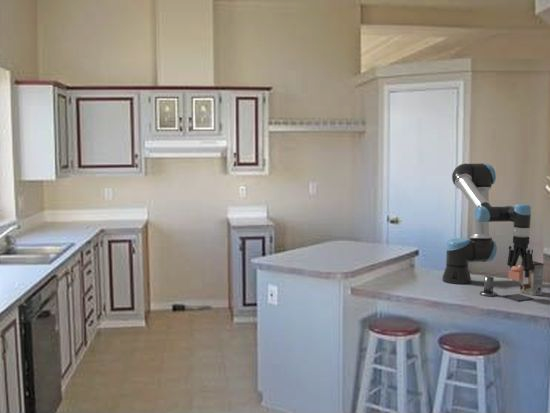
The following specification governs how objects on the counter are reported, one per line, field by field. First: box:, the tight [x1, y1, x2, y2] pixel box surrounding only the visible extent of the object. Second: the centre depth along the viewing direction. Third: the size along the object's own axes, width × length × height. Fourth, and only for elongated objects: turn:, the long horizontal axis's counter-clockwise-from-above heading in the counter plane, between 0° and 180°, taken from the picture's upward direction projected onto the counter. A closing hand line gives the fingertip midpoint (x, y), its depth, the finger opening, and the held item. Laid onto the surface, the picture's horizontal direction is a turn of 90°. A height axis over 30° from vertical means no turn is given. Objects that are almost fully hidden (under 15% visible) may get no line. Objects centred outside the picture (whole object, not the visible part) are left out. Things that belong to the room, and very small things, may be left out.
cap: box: [507, 264, 531, 282], centre depth 315 cm, size 7×7×7 cm
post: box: [479, 275, 498, 298], centre depth 322 cm, size 8×8×9 cm
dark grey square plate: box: [502, 293, 535, 302], centre depth 316 cm, size 10×10×1 cm
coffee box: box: [519, 260, 545, 296], centre depth 326 cm, size 9×6×16 cm
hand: (519, 282), depth 315 cm, fingers closed on cap, 7 cm apart
